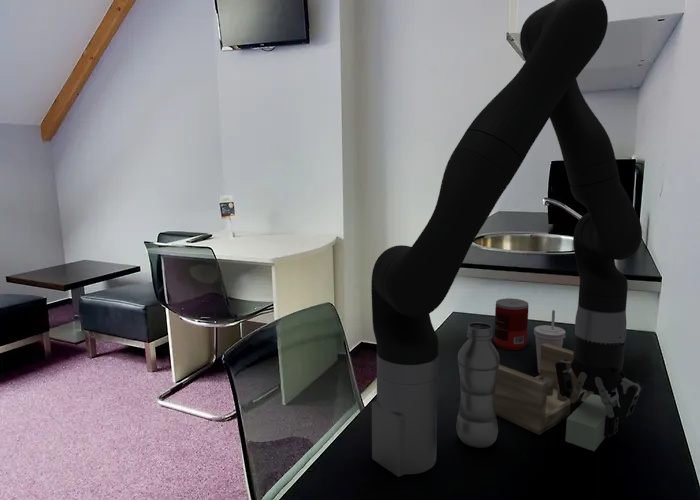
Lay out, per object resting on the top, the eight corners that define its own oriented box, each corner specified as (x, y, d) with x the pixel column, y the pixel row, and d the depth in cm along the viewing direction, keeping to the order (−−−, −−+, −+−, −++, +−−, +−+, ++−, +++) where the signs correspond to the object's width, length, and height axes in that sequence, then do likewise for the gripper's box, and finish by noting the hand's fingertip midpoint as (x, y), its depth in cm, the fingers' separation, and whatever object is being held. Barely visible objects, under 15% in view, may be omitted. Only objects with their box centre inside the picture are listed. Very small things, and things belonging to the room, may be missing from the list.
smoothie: (566, 379, 106) (570, 315, 104) (533, 377, 108) (537, 314, 105) (559, 367, 112) (563, 306, 110) (529, 365, 114) (532, 305, 111)
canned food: (529, 342, 128) (532, 300, 126) (521, 353, 121) (524, 308, 119) (499, 337, 132) (501, 296, 130) (490, 347, 125) (491, 304, 123)
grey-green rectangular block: (594, 451, 80) (595, 428, 80) (565, 441, 83) (566, 418, 83) (616, 422, 89) (618, 401, 88) (590, 414, 92) (591, 393, 91)
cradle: (539, 434, 85) (542, 384, 84) (488, 411, 93) (490, 365, 92) (593, 403, 96) (596, 358, 95) (543, 384, 104) (545, 342, 103)
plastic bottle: (490, 458, 79) (495, 335, 75) (449, 445, 82) (452, 328, 79) (502, 438, 84) (507, 323, 81) (463, 427, 88) (466, 317, 84)
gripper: (547, 327, 87) (542, 419, 90) (635, 351, 75) (626, 455, 78) (570, 318, 91) (564, 406, 94) (656, 339, 80) (647, 438, 83)
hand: (592, 428), depth 86 cm, fingers closed on grey-green rectangular block, 5 cm apart
